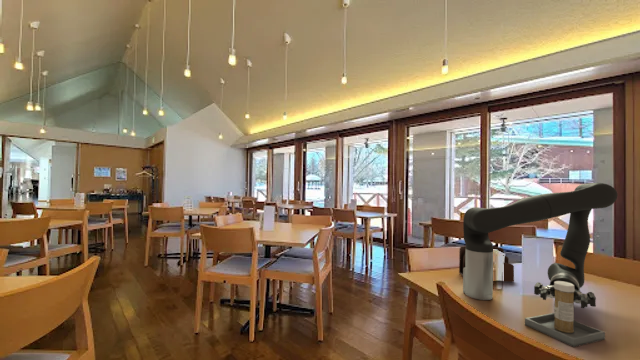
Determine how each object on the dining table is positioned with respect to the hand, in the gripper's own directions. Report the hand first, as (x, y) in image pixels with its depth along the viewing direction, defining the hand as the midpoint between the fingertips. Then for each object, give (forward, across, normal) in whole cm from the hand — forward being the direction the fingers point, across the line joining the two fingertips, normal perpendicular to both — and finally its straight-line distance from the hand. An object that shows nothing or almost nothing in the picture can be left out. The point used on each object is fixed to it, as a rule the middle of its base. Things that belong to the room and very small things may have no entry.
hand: (562, 300), depth 86 cm
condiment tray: (-1, 0, +9) cm, 9 cm away
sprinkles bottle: (-1, 0, +9) cm, 9 cm away
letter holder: (-43, -28, +10) cm, 52 cm away
